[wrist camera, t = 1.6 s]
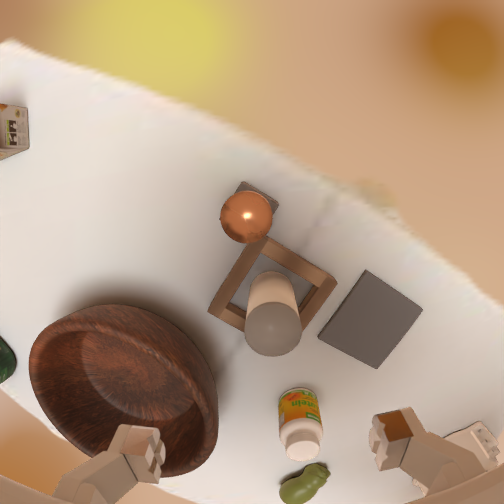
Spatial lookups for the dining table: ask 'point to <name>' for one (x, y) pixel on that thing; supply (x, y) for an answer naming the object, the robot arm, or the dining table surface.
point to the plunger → (246, 217)
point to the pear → (304, 485)
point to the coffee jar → (6, 362)
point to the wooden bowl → (126, 383)
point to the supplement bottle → (300, 424)
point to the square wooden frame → (283, 257)
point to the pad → (370, 321)
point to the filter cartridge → (272, 315)
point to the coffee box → (13, 130)
